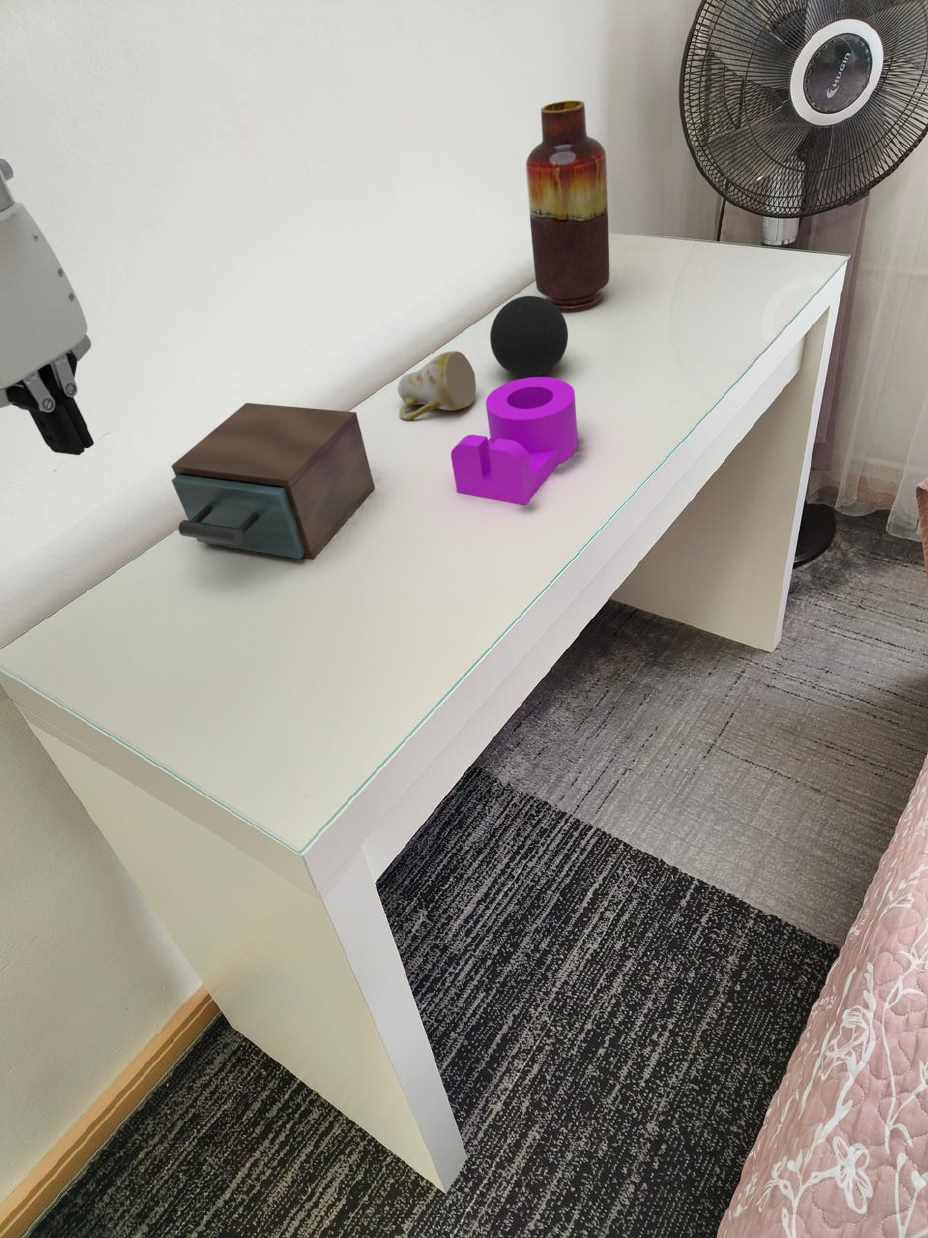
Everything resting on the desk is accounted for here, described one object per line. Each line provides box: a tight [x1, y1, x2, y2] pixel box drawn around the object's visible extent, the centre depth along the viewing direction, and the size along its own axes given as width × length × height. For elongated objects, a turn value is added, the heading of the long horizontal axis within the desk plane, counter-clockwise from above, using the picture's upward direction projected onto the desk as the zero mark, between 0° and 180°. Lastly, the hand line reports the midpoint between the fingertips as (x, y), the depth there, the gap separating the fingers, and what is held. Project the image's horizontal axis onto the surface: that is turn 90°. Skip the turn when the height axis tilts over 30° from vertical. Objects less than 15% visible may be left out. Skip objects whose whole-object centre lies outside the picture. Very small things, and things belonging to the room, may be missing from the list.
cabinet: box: [171, 402, 376, 560], centre depth 92 cm, size 14×15×10 cm
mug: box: [397, 350, 477, 421], centre depth 107 cm, size 8×10×10 cm
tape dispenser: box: [450, 376, 579, 506], centre depth 94 cm, size 16×10×6 cm, turn 151°
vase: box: [525, 100, 610, 313], centre depth 121 cm, size 11×11×26 cm
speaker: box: [489, 295, 569, 378], centre depth 109 cm, size 10×10×10 cm
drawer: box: [171, 475, 306, 560], centre depth 89 cm, size 17×13×8 cm
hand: (73, 448), depth 67 cm, fingers closed
